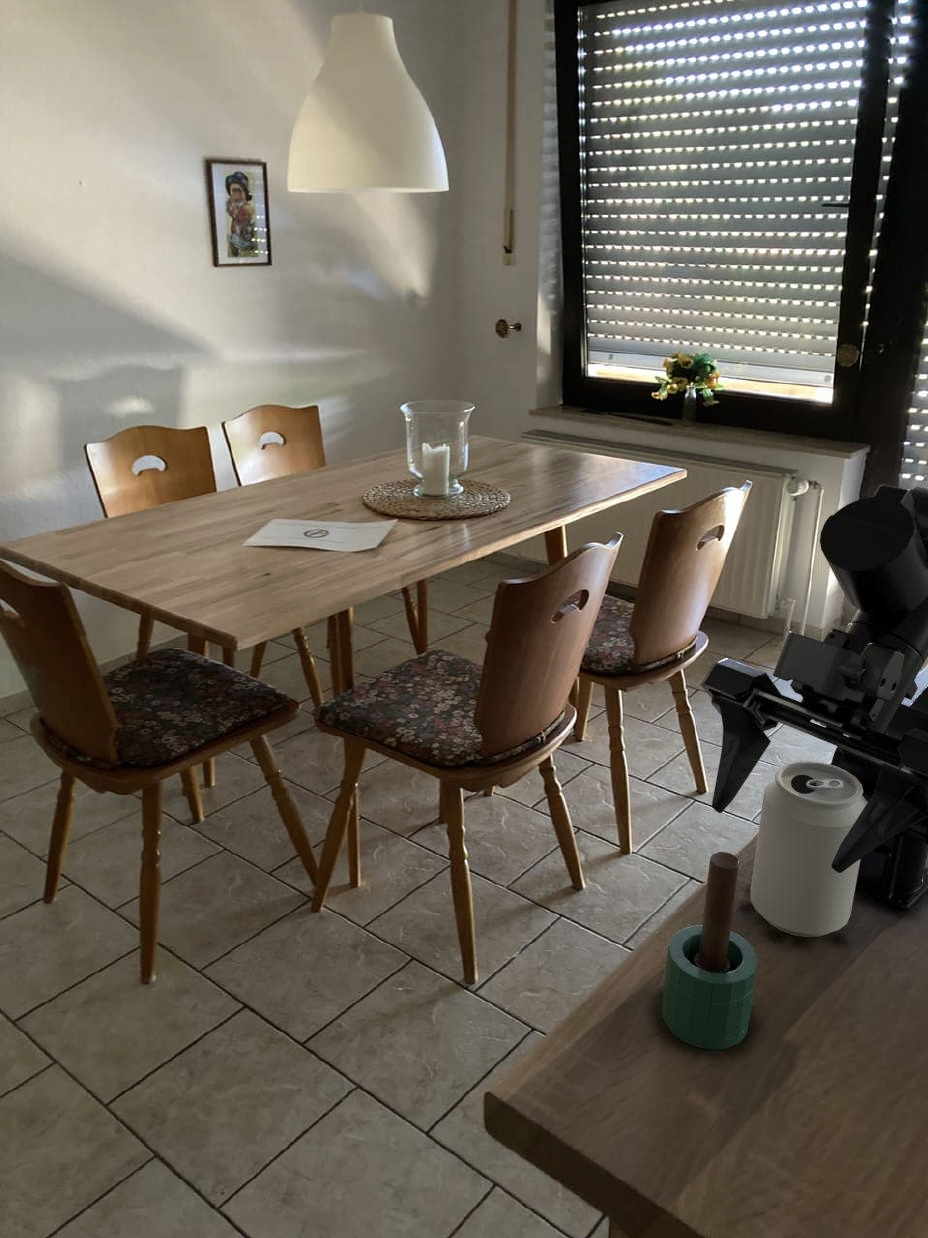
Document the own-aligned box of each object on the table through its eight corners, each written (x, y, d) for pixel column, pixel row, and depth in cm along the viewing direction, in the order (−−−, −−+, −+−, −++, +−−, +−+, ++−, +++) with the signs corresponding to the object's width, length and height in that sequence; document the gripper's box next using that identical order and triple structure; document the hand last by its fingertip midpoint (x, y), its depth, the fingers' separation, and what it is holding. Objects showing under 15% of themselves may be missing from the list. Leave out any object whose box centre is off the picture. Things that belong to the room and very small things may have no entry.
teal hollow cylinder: (692, 977, 74) (700, 913, 72) (764, 1019, 70) (773, 953, 68) (645, 1017, 70) (651, 952, 68) (717, 1064, 66) (726, 996, 64)
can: (756, 874, 85) (773, 746, 81) (851, 897, 82) (875, 765, 78) (741, 929, 79) (759, 793, 74) (845, 955, 76) (870, 815, 71)
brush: (706, 991, 71) (724, 844, 67) (732, 1013, 69) (752, 863, 65) (680, 1004, 70) (697, 856, 65) (706, 1027, 68) (725, 875, 64)
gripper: (730, 551, 72) (616, 738, 70) (1001, 629, 59) (873, 862, 57) (779, 628, 80) (678, 799, 77) (1028, 712, 67) (917, 920, 64)
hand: (772, 839), depth 69 cm, fingers open, 9 cm apart
